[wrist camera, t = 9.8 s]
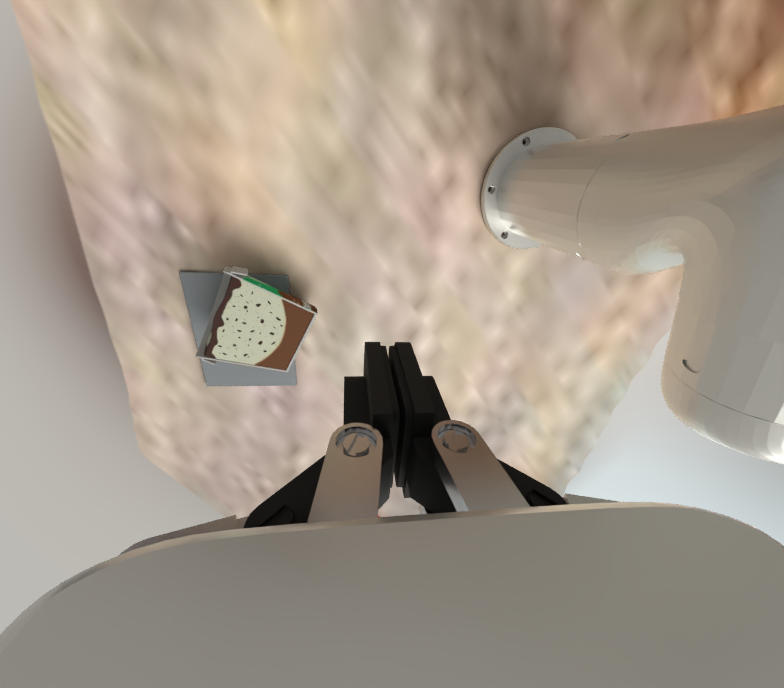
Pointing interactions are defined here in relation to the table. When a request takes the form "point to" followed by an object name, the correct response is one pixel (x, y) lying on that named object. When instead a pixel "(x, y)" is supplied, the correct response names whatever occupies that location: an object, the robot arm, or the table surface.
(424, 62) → the table surface
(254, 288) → the food container
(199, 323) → the mat
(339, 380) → the table surface
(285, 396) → the table surface
